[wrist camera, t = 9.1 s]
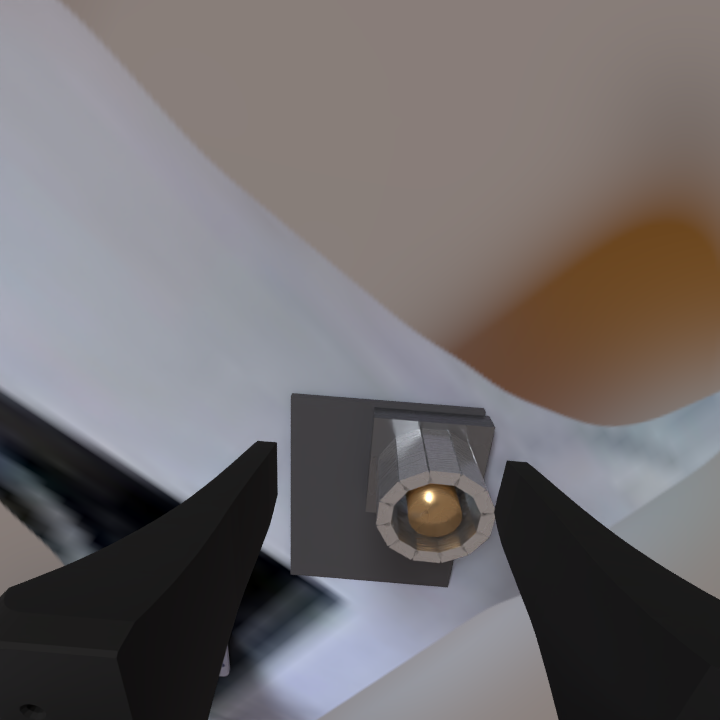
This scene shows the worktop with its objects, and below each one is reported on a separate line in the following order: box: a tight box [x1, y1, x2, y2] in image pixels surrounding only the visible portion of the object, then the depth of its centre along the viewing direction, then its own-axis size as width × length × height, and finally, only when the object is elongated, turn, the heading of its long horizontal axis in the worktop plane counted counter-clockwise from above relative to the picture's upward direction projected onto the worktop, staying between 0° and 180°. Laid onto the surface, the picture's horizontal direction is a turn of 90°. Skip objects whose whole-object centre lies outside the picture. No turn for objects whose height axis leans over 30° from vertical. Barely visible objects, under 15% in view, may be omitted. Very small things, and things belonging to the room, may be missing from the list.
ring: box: [376, 428, 495, 563], centre depth 20 cm, size 6×6×4 cm
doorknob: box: [366, 407, 495, 537], centre depth 21 cm, size 6×6×5 cm
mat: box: [291, 393, 485, 587], centre depth 25 cm, size 14×11×1 cm
